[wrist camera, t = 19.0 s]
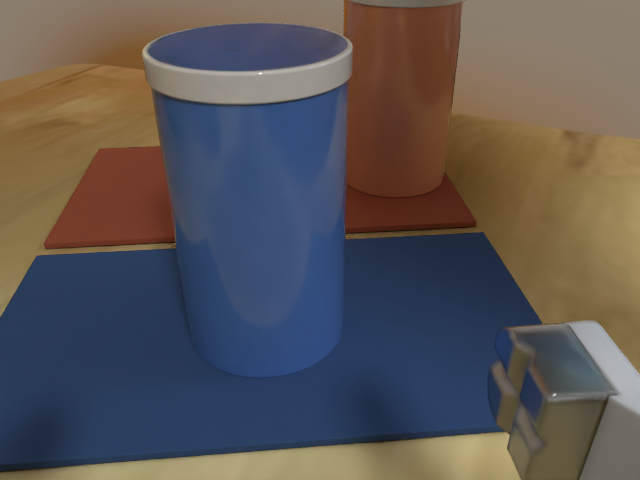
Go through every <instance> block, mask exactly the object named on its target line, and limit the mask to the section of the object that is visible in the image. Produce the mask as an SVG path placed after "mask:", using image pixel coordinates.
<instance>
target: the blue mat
mask: <svg viewBox="0 0 640 480" xmlns="http://www.w3.org/2000/svg"><path fill="white" fill-rule="evenodd" d="M540 324H542V322H541V321H540V319H539V317H538V316H537V314H536V313H535V311H534V310H533V308H532V307H531V305H530V304H529V302H528V300H527V299H526V297H525V296H524V294H523V293H522V291H521V290H520V288H519V287H518V285H517V283H516V282H515V280H514V279H513V277H512V276H511V274H510V273H509V271H508V270H507V268H506V266H505V265H504V263H503V262H502V260H501V259H500V257H499V256H498V254H497V252H496V251H495V249H494V248H493V246H492V245H491V243H490V242H489V240H488V239H487V237H486V235H485V234H484V232H479V233H460V234H441V235H422V236H403V237H384V238H365V239H346V242H345V289H344V326H343V332H342V335H341V338H340V340H339V342H338V344H337V345H336V346H335V348H334V349H333V350H332V351H331V352H330V353H329V354H328V355H327V356H326V357H325V358H323V359H322V360H321V361H319V362H318V363H316V364H314V365H312V366H311V367H309V368H306V369H304V370H302V371H299V372H296V373H292V374H289V375H284V376H279V377H270V378H252V377H243V376H237V375H234V374H230V373H227V372H224V371H222V370H219V369H217V368H215V367H214V366H212V365H210V364H209V363H207V362H206V361H205V360H204V359H203V358H202V357H201V356H200V355H199V354H198V353H197V351H196V350H195V348H194V347H193V344H192V342H191V337H190V331H189V325H188V319H187V312H186V306H185V300H184V293H183V287H182V281H181V274H180V268H179V262H178V255H177V249H176V248H174V249H155V250H136V251H117V252H97V253H78V254H59V255H40V256H36V258H35V260H34V261H33V263H32V265H31V266H30V268H29V270H28V271H27V273H26V275H25V277H24V278H23V280H22V282H21V283H20V285H19V287H18V289H17V290H16V292H15V294H14V295H13V297H12V299H11V300H10V302H9V304H8V306H7V307H6V309H5V311H4V312H3V314H2V316H1V317H0V471H10V470H23V469H35V468H48V467H60V466H73V465H86V464H98V463H111V462H124V461H136V460H149V459H161V458H174V457H187V456H199V455H212V454H225V453H237V452H250V451H262V450H275V449H288V448H300V447H313V446H326V445H338V444H351V443H363V442H376V441H389V440H401V439H414V438H427V437H439V436H452V435H464V434H477V433H490V432H502V431H504V430H503V429H502V428H500V427H499V426H497V424H496V422H495V419H494V417H493V415H492V412H491V409H490V405H489V401H488V392H487V379H488V373H489V367H490V366H491V365H492V364H493V363H494V362H495V361H496V360H497V359H498V358H499V356H498V354H497V352H496V350H495V348H494V342H495V338H496V334H497V332H498V331H499V329H500V327H511V326H525V325H540Z"/></svg>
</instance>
